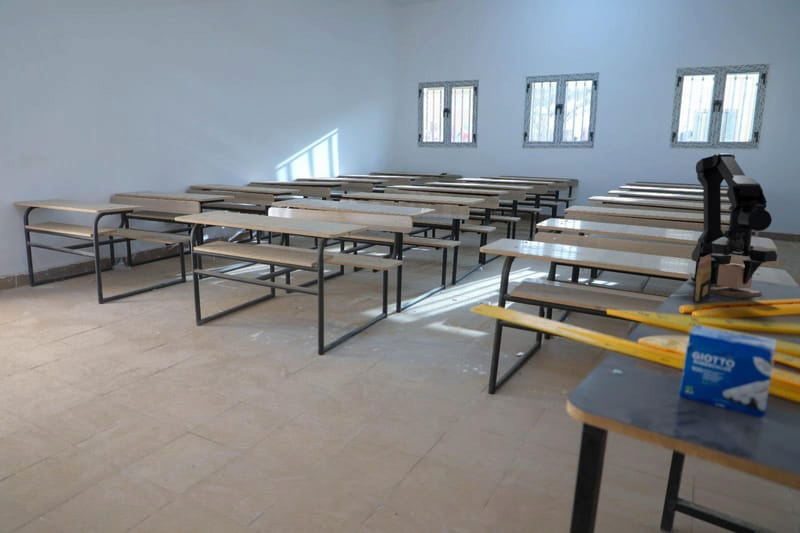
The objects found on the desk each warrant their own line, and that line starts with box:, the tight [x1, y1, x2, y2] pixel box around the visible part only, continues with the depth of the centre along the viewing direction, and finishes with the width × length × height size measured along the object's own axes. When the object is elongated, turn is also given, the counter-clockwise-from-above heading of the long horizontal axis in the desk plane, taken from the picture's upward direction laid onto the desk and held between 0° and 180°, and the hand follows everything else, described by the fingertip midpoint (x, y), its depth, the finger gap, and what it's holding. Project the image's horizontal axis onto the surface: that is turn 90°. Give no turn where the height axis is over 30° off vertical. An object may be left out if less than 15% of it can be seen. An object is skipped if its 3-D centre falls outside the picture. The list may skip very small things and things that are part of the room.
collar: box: [716, 263, 753, 289], centre depth 156 cm, size 6×6×6 cm
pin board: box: [710, 285, 763, 299], centre depth 157 cm, size 10×10×5 cm
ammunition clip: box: [692, 254, 712, 304], centre depth 148 cm, size 11×2×12 cm, turn 139°
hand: (734, 281), depth 157 cm, fingers closed on collar, 6 cm apart
